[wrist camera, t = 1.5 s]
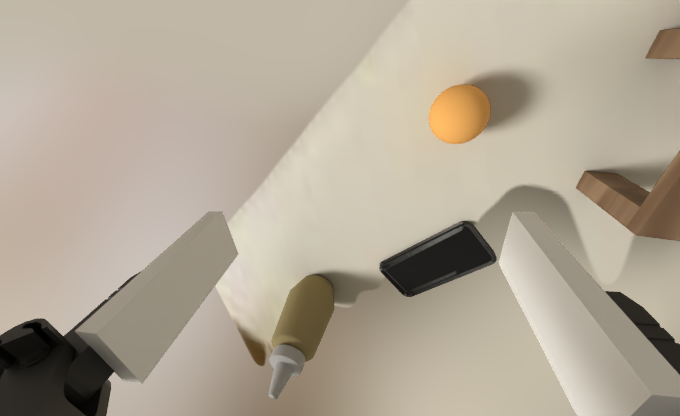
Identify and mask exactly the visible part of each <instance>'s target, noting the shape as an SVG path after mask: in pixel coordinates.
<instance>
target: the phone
mask: <svg viewBox="0 0 680 416" xmlns="http://www.w3.org/2000/svg"><path fill="white" fill-rule="evenodd" d="M495 262H496V255H495V253H494V251H493V249H492V248H491V247H490V245H489V244H488V243H487V242H486V240H485V239H484V238H483V237H482V235H481V234H480V233H479V231H478V230H477V229H476V227H475V226H473V225H472V224H471V223H470V222H468V221H461V222H458V223H456V224H454V225H453V226H451V227H449V228H447V229H445V230H443V231H441V232H439V233H437V234H435V235H433V236H431V237H429V238H427V239H425V240H423V241H421V242H419V243H417V244H415V245H413V246H411V247H409V248H407V249H406V250H404V251H402V252H400V253H398V254H396V255H394V256H392V257H390V258H388V259H386V260H384V261H382V262H381V263H380V268H379V269H380V271H381V272H382V273H383V275H384V276H385V277H386V278H387V279H388V280H389V281H390V282H391V283H392V284H393V285H394V286H395V287H396V288H397V289H398V290H399V291H400V292H401V293H402V294H403V295H404V296H407V297H412V296H414V295H417V294H419V293H422V292H424V291H427V290H429V289H432V288H434V287H437V286H439V285H442V284H444V283H447V282H449V281H452V280H454V279H457V278H459V277H462V276H464V275H467V274H469V273H472V272H474V271H476V270H479V269H482V268H484V267H487V266H489V265H492V264H494V263H495Z"/></svg>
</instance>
